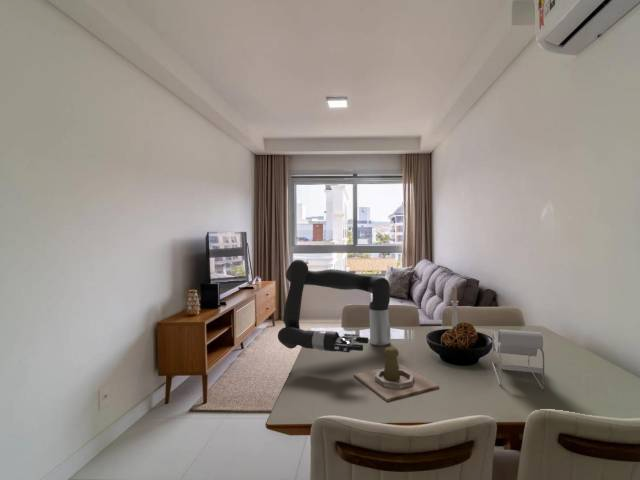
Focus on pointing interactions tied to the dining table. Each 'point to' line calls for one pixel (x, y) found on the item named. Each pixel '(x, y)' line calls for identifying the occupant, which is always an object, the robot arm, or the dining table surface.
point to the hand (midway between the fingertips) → (365, 344)
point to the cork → (391, 364)
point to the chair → (518, 349)
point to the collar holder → (395, 383)
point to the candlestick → (454, 307)
